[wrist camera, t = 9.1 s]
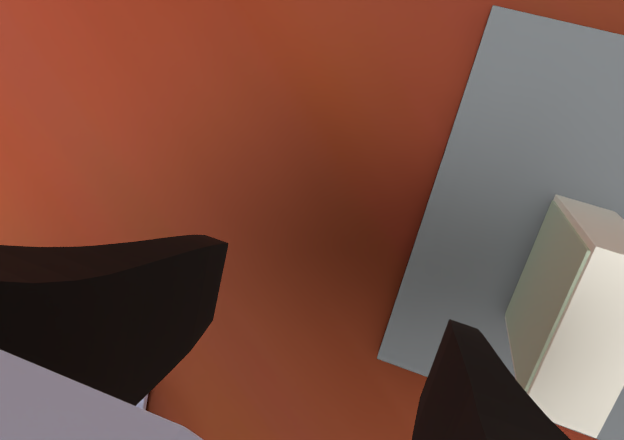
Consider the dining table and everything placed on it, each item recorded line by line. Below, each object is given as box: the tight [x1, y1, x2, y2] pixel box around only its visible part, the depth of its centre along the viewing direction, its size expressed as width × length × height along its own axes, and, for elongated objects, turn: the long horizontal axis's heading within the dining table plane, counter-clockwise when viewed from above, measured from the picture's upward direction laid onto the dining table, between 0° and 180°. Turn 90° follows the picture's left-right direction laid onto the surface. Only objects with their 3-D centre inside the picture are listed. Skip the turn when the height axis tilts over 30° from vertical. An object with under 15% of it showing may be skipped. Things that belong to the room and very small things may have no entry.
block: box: [505, 195, 624, 438], centre depth 16 cm, size 5×2×6 cm, turn 165°
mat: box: [377, 5, 624, 440], centre depth 19 cm, size 14×14×1 cm
